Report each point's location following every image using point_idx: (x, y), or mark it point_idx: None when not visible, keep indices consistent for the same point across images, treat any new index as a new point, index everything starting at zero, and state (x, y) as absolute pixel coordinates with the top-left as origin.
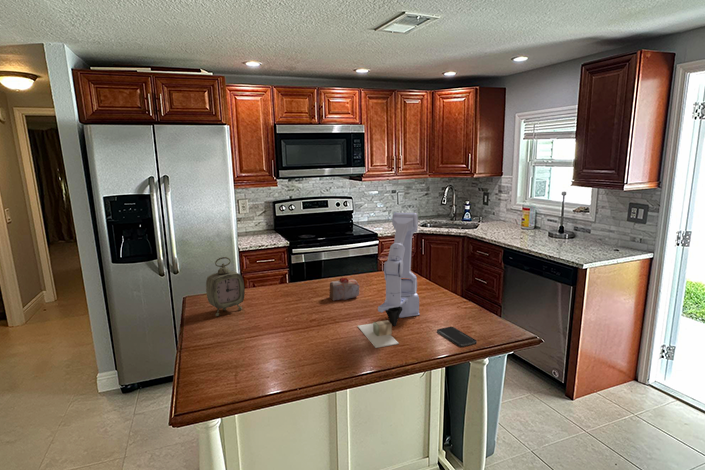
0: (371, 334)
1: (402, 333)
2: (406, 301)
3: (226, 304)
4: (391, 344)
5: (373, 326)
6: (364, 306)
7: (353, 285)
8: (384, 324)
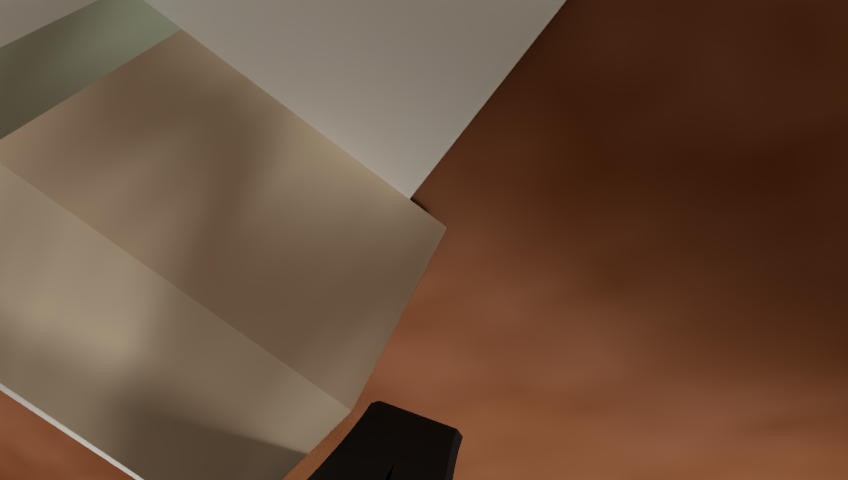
0: (20, 20)
1: (522, 469)
2: None
3: None
4: (72, 435)
5: (4, 58)
6: None
7: None
8: (79, 411)
